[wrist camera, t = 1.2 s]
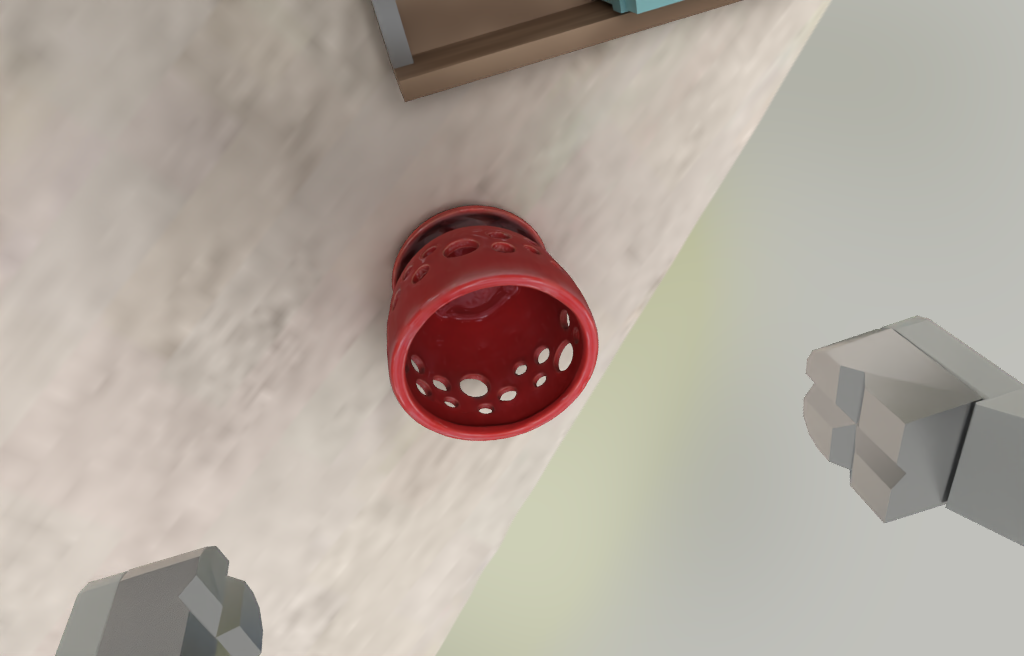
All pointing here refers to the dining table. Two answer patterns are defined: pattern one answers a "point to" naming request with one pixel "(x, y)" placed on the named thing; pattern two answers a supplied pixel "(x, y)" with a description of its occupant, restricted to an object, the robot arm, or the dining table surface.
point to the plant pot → (484, 325)
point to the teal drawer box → (638, 5)
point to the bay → (501, 35)
